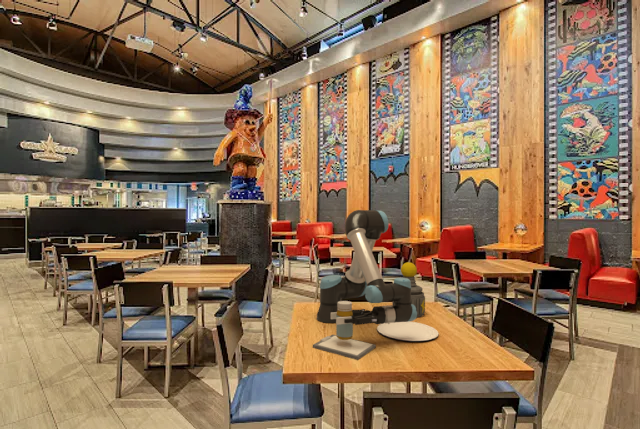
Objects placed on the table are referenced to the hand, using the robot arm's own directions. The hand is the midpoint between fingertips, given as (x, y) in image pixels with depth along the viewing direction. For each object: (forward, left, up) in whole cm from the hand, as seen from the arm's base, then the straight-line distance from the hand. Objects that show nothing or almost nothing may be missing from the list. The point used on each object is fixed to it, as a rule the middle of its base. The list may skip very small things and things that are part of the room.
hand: (333, 318), depth 146 cm
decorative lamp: (+7, +71, -13) cm, 72 cm away
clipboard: (+3, +4, -13) cm, 14 cm away
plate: (+18, +39, -13) cm, 45 cm away
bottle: (+3, +4, -9) cm, 10 cm away
